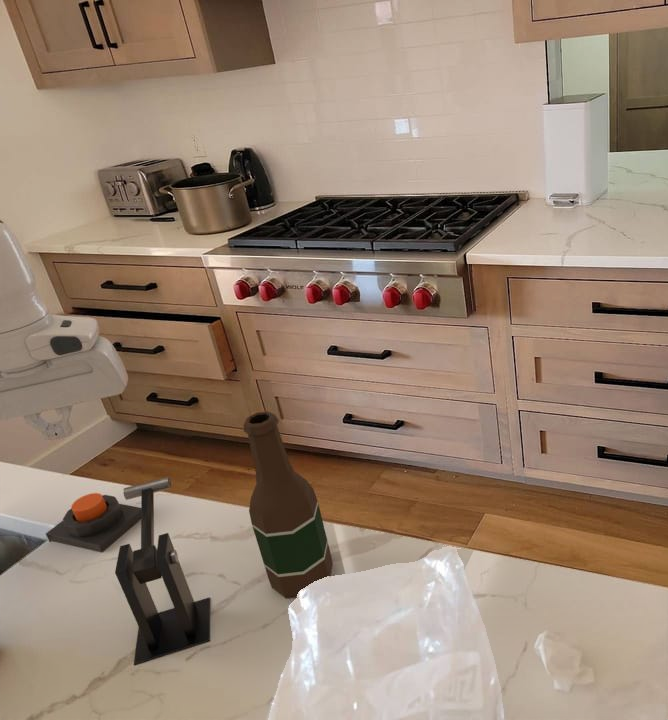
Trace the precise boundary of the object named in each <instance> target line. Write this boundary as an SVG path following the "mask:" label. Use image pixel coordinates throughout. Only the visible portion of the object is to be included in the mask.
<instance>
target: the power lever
mask: <svg viewBox="0 0 668 720" xmlns="http://www.w3.org/2000/svg"><path fill="white" fill-rule="evenodd" d="M170 489H172V483H171V479H170V477H169V476H166V477H163V478H157V479H154V480H150V481H146V482H143V483H139V484H135V485H131V486H128V487H123V490H122V492H123V497H124V498H125V500H126V501H128V500H132V499H136V498H139V497H141V498H140V499H141V500H140V501H141V503H140V504H141V505H140V508H141V520H140V548H139V549H135V550H132V551H133V573H134V575H135V576H136V578H137V580H138V581H139V583H140V584H143V583H146V584H147V583H149V582H153V581H156V580H160V579H163V578H162V575H161V573H160V570H159V568H158V565H157V563H156V555H157V546H156V545H155V512H154V511H155V506H154V503H155V501H154V500H155V499H154V498H155V497H154V494H155V493H159V492H163V491H166V490H170Z"/></svg>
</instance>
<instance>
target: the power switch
mask: <svg viewBox="0 0 668 720" xmlns="http://www.w3.org/2000/svg"><path fill="white" fill-rule="evenodd" d="M156 549H157V555H156V563H157V565H158V568H159V570H160V573H161V575H162V578H161V579H162V581H163V583H164V585H165V587H166V590H167V593H168V596H169V598H170V600H171V603H172V606H173V608H170V609H167V610H162V611H160V612H159V611H158V608H157V606H156V604H155V602H154V599H153V597H152V594H151V592H150V590H149V587H148V584H147V582H146V583H143V584H140V583H139V581H138V580H137V578H136V576H135V575H134V573H133V551H134V550H133V548H132V546H131V544H130V543H125V544H123V545H120V546H119V550H118V555H117V561H116V566H115V570H114V573H115V576H116V578H117V581H118V583H119V585H120V588H121V589H122V592H123V594H124V597H125V599H126V602H127V603H128V605H129V608H130V610H131V612H132V615H133V617H134V620H135V622H136V624H137V626H138V629H137V636H136V644H135V652H134V659H133V666H138V665H140V664H144V663H147V662H150V661H153V660H156V659H159V658H162V657H166V656H169V655H173V654H175V653H179V652H181V651H184V650H189V649H191V648H194V647H198V646H200V645H203V644H206V643H209V642H211V605H212V604H211V603H212V601H211V599H212V598H211V597H205V598H203V599H200V600H196V601H195V600H194V597H193V595H192V593H191V592H192V591H191V589H190V587H189V584H188V582H187V579H186V577H185V574H184V571H183V568H182V565H181V563H180V560H179V555H178V552H177V550H176V549H175V546H174V545H173V542H172V539H171V536H170V534H169V532H166V533H162V534H159V535H158V539H157V546H156Z"/></svg>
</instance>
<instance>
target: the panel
mask: <svg viewBox="0 0 668 720" xmlns="http://www.w3.org/2000/svg"><path fill="white" fill-rule="evenodd" d="M101 495H102V496H103V498H104V500H105V503H106V505H107V510H106V511H105V512H104V513H103V514H101V515H100V516H99V517H96V518H94V519H92V520H88V521H83V522H79V521H77V520H76V518H75V515H74V513H73V511H72V509H71V508H69V509H68V510H67V511H66V513H65V514H64V516H63V518H62V521H60V522H59V523H58V524H56V525H55V526H54V527H52V528H51V529H49V530H48V531H47V532H46V533H45V535H46V538H47V540H48V542H49V543H51V542H54V543H57V544H61V545H62V544H63V545H66V546H71V547H76V548H80V549H84V550H89V551H93V552H98V553H104V552H105V551H106V550H107V549H108V548H109V547H111V546H112V545H113V544H114V543H115V542H117V541H118V540H119V539H120V538H121V537H122V536H124V534H126V533H127V532H128V531H129V530H130V529H131V528H133V527H134V526H135V525H136V524H138V522H141V507H138V506H133V505H128V504H123V503H119V501H118V499H117V497H116V496H113V495H108V494H101Z"/></svg>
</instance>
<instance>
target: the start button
mask: <svg viewBox="0 0 668 720" xmlns="http://www.w3.org/2000/svg"><path fill="white" fill-rule="evenodd" d="M102 495H103V494H102V493H98V492H93V493H88V494H85V495H83V496H81V497H79V498H78V499H76V500H75V501H74V502H73V503H72V504H71V507H70V509H72V511H73V513H74V515H75V518H76V520H77V521H79V522H83V521H88V520H92V519H94V518H96V517H99V516H100V515H101V514H103V513H104V512H105V511H106V510H107V505H106V503H105V500H104V498H103V496H102Z"/></svg>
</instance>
